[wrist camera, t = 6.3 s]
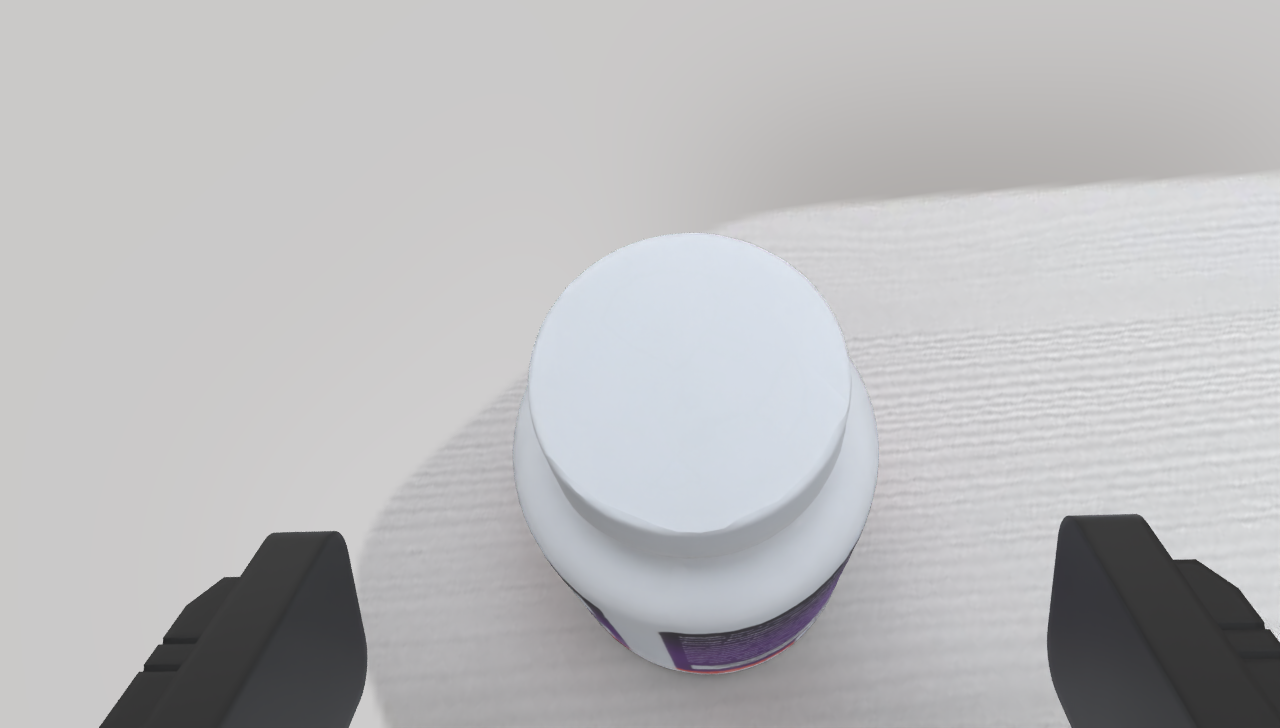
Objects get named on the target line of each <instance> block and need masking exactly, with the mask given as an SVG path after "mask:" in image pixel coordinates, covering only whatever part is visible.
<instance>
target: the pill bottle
mask: <svg viewBox="0 0 1280 728" xmlns="http://www.w3.org/2000/svg"><path fill="white" fill-rule="evenodd" d="M878 463H879V443H878V432H877V425H876V419H875V415H874V411H873V407H872V404H871V401H870V398H869V395H868V392H867V390H866V387H865V384H864V382H863V380H862V378H861V376H860V374H859V372H858V370H857V368H856V367H855V365H854V364H853V362H852V360H851V358H850V357H849V354H848V350H847V346H846V343H845V339H844V336H843V333H842V331H841V328H840V326H839V323H838V321H837V319H836V317H835V315H834V314H833V312H832V310H831V308H830V307H829V305H828V304H827V302H826V301H825V299H824V298H823V296H822V295H821V294H820V293H819V292H818V290H817V289H816V288H815V287H814V285H813V284H812V283H811V282H810V281H809V280H808V279H807V278H806V277H805V276H804V275H803V274H802V273H800V272H799V271H798V270H796V269H795V268H794V267H792V266H791V265H790V264H788V263H787V262H786V261H784V260H783V259H782V258H780V257H778V256H776V255H774V254H772V253H770V252H768V251H766V250H764V249H762V248H760V247H758V246H756V245H754V244H752V243H748V242H745V241H741V240H738V239H734V238H730V237H726V236H721V235H717V234H708V233H678V234H670V235H663V236H657V237H652V238H648V239H644V240H641V241H638V242H635V243H632V244H630V245H627V246H624V247H622V248H620V249H618V250H616V251H614V252H612V253H610V254H608V255H607V256H605V257H603V258H601V259H600V260H598V261H597V262H595V263H594V264H592V265H591V266H590V267H589V268H587V269H586V270H585V271H584V272H582V273H581V274H580V275H579V276H578V277H577V278H576V279H575V280H573V281H572V282H571V284H570V285H569V286H568V287H567V288H566V289H565V290H564V292H563V293H562V294H561V295H560V297H559V298H558V299H557V301H556V302H555V303H554V305H553V306H552V308H551V309H550V311H549V312H548V314H547V316H546V318H545V320H544V322H543V324H542V325H541V327H540V330H539V333H538V335H537V339H536V341H535V344H534V348H533V351H532V356H531V361H530V366H529V375H528V385H527V388H526V390H525V393H524V396H523V398H522V401H521V404H520V408H519V412H518V416H517V422H516V427H515V433H514V444H513V466H514V477H515V484H516V489H517V493H518V497H519V501H520V505H521V508H522V511H523V514H524V516H525V519H526V522H527V524H528V526H529V528H530V531H531V533H532V534H533V536H534V538H535V540H536V542H537V544H538V545H539V547H540V548H541V550H542V552H543V554H544V556H545V557H546V559H547V560H548V561H549V563H550V564H551V566H552V567H553V568H554V569H555V570H556V572H557V573H558V574H559V575H560V577H561V578H562V579H563V580H564V581H565V582H566V584H567V585H568V586H569V587H570V588H571V589H572V591H573V592H574V593H575V594H576V595H577V596H578V598H579V599H580V600H581V601H582V602H583V604H584V605H585V606H586V607H587V608H588V610H589V611H590V612H591V614H592V615H594V617H595V618H596V619H597V620H598V621H599V623H600V624H601V625H602V626H603V627H604V628H605V629H606V630H607V631H608V632H609V633H610V634H611V635H612V636H613V637H614V638H615V639H616V640H617V641H619V642H620V643H621V644H623V645H624V646H625V647H627V648H628V649H630V650H631V651H633V652H634V653H636V654H637V655H639V656H641V657H642V658H644V659H646V660H648V661H650V662H652V663H655V664H657V665H659V666H662V667H665V668H668V669H672V670H676V671H680V672H687V673H695V674H724V673H732V672H737V671H741V670H744V669H748V668H751V667H754V666H756V665H759V664H761V663H763V662H766V661H768V660H770V659H771V658H773V657H775V656H777V655H778V654H780V653H782V652H783V651H785V650H786V649H787V648H789V647H790V646H791V645H793V644H794V643H795V642H796V641H797V640H798V639H799V638H800V637H801V636H802V635H803V634H804V633H805V632H806V631H807V630H808V629H809V628H810V627H811V625H812V624H813V623H814V622H815V620H816V619H817V618H818V616H819V615H820V614H821V612H822V611H823V609H824V607H825V606H826V604H827V602H828V600H829V599H830V597H831V594H832V592H833V590H834V588H835V586H836V584H837V581H838V579H839V577H840V575H841V573H842V571H843V569H844V567H845V566H846V564H847V562H848V560H849V558H850V556H851V553H852V551H853V549H854V547H855V545H856V543H857V541H858V540H859V537H860V535H861V533H862V530H863V528H864V526H865V523H866V520H867V517H868V514H869V511H870V508H871V504H872V499H873V495H874V491H875V487H876V482H877V475H878Z"/></svg>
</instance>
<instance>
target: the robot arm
mask: <svg viewBox="0 0 1280 728" xmlns="http://www.w3.org/2000/svg"><path fill="white" fill-rule="evenodd" d="M1047 651H1048V660H1049V667H1050V673H1051V677H1052V681H1053V684H1054V688H1055V690H1056V693H1057V695H1058V698H1059V700H1060V702H1061V705H1062V707H1063V709H1064V711H1065V714H1066V716H1067V718H1068V721H1069V723H1070V725H1071V727H1072V728H1280V642H1279V641H1278V640H1277V638H1276V637H1275V636H1274V634H1273V633H1272V632H1271V631H1270V629H1265V626H1264V621H1263V620H1262V619H1261V617H1260V616H1259V615H1258V613H1257V612H1256V611H1255V610H1254V608H1253V607H1252V606H1251V604H1250V603H1249V602H1248V600H1247V599H1246V598H1245V596H1244V595H1243V594H1242V592H1241V591H1240V590H1239V588H1237V587H1236V586H1234V585H1233V584H1231V583H1230V582H1228V581H1227V580H1225V579H1224V578H1222V577H1221V576H1219V575H1218V574H1216V573H1215V572H1213V571H1212V570H1211V569H1209V568H1208V567H1206V566H1205V565H1203V564H1202V563H1200V562H1199V561H1197V560H1196V559H1192V560H1173V559H1172V558H1171V556H1170V555H1169V554H1168V552H1167V551H1166V549H1165V548H1164V546H1163V545H1162V544H1161V542H1160V541H1159V539H1158V538H1157V536H1156V535H1155V533H1154V532H1153V531H1152V529H1151V528H1150V526H1149V525H1148V523H1147V522H1146V521H1145V520H1144V518H1143V517H1141V516H1140V515H1137V514H1122V515H1080V516H1066V517H1065V518H1064V519H1063V521H1062V523H1061V525H1060V529H1059V534H1058V541H1057V550H1056V559H1055V568H1054V577H1053V586H1052V595H1051V604H1050V613H1049V622H1048V632H1047ZM366 672H367V645H366V638H365V633H364V628H363V623H362V618H361V613H360V608H359V603H358V598H357V593H356V588H355V583H354V578H353V573H352V569H351V564H350V559H349V554H348V549H347V545H346V543H345V540H344V538H343V536H342V535H341V534H340V533H339V532H337V531H327V532H326V531H324V532H283V533H272V534H270V535H269V536H268V537H267V538H266V539H265V541H264V542H263V543H262V545H261V546H260V548H259V550H258V551H257V552H256V554H255V555H254V557H253V558H252V560H251V561H250V563H249V564H248V566H247V567H246V569H245V571H244V572H243V573H242V575H241V577H224V578H223V579H221V580H220V581H219V582H217V583H216V584H215V585H213V586H212V587H211V588H209V589H208V590H207V591H205V592H204V593H203V594H201V595H200V596H199V597H197V598H196V599H195V600H193V601H192V602H191V603H189V604H188V605H187V606H186V607H185V608H184V610H183V611H182V613H181V614H180V615H179V617H178V618H177V620H176V621H175V622H174V624H173V625H172V626H171V628H170V629H169V631H168V632H167V633H166V635H165V636H164V638H163V644H162V645H158V646H157V647H156V649H155V650H154V652H153V653H152V654H151V656H150V657H149V659H148V660H147V661H146V663H145V664H144V671H143V672H139V673H138V674H137V675H136V677H135V678H134V679H133V681H132V682H131V684H130V685H129V686H128V688H127V689H126V691H125V692H124V694H123V695H122V696H121V698H120V699H119V700H118V702H117V703H116V705H115V706H114V707H113V709H112V710H111V712H110V713H109V714H108V716H107V717H106V719H105V720H104V722H103V723H102V724H101V726H100V727H99V728H349V725H350V723H351V721H352V718H353V716H354V713H355V711H356V708H357V706H358V704H359V702H360V699H361V696H362V693H363V690H364V685H365V680H366Z"/></svg>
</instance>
